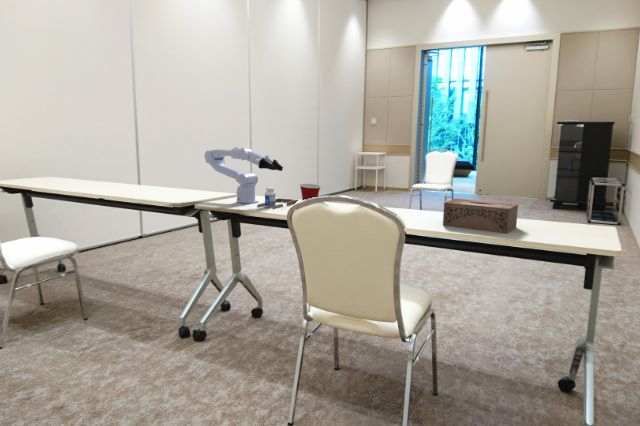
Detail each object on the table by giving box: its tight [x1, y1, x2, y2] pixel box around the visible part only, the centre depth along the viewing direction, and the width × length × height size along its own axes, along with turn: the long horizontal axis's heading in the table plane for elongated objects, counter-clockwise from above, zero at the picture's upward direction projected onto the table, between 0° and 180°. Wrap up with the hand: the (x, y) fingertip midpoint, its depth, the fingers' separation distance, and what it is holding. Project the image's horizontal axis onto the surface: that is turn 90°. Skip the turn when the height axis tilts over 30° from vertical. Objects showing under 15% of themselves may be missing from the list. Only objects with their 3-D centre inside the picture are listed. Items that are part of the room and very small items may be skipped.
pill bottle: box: [264, 187, 277, 208], centre depth 234 cm, size 6×5×10 cm
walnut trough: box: [276, 197, 299, 206], centre depth 246 cm, size 12×10×2 cm
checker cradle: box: [256, 202, 284, 210], centre depth 235 cm, size 10×8×1 cm
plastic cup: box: [299, 183, 322, 201], centre depth 230 cm, size 11×11×12 cm
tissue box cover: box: [442, 198, 519, 234], centre depth 190 cm, size 26×14×10 cm, turn 55°
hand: (277, 168), depth 233 cm, fingers open, 7 cm apart
